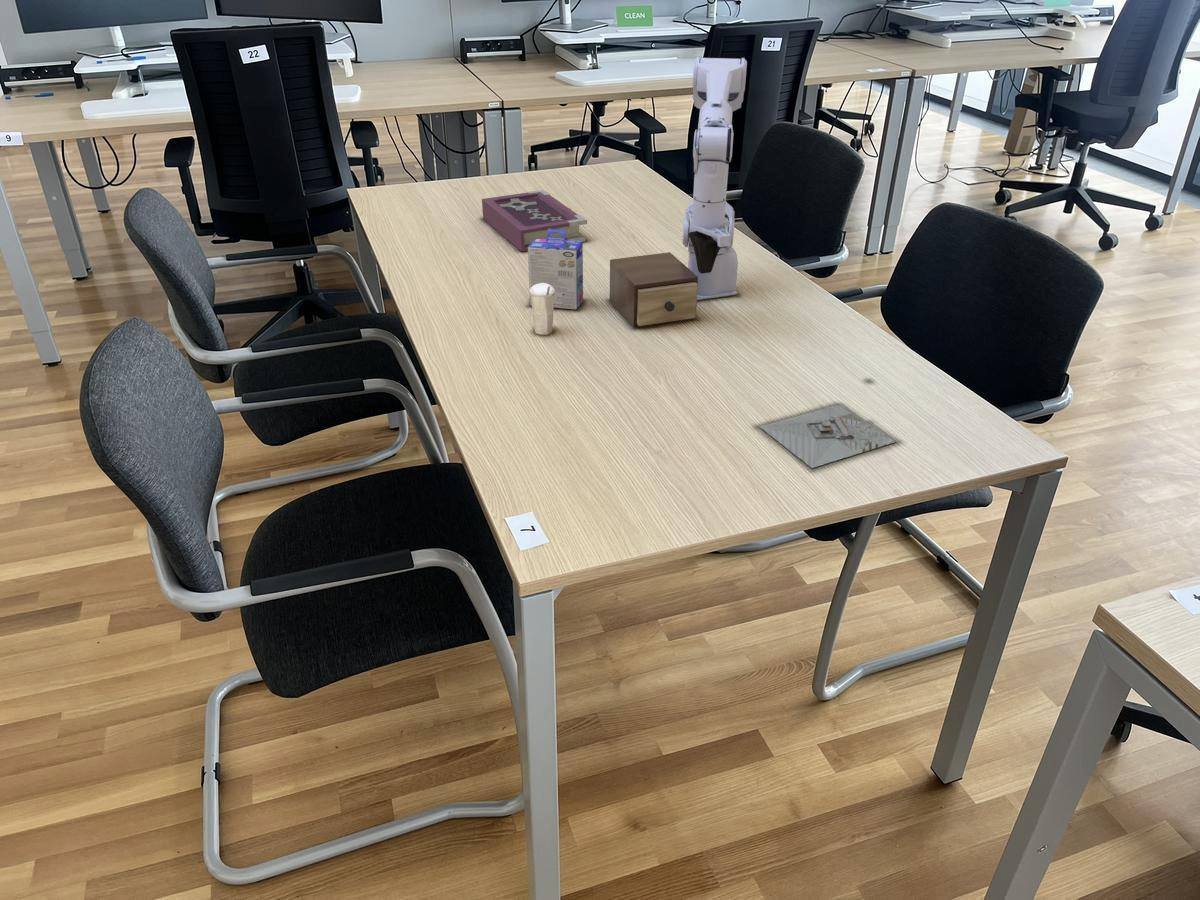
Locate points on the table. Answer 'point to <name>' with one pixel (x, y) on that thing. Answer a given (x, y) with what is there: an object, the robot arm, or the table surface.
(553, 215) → the book
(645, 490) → the table surface
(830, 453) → the grey flat square slab
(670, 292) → the drawer
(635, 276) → the cabinet
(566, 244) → the ink cartridge box
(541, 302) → the milkshake
